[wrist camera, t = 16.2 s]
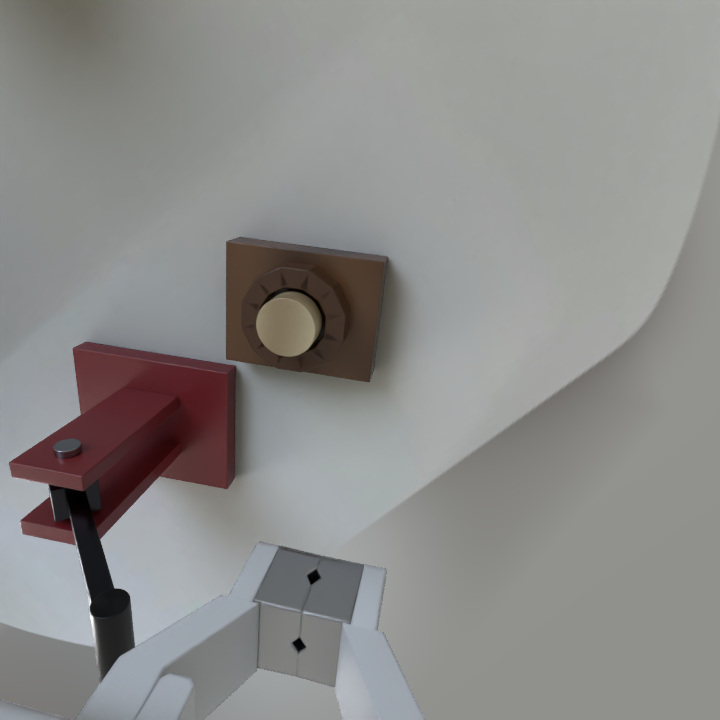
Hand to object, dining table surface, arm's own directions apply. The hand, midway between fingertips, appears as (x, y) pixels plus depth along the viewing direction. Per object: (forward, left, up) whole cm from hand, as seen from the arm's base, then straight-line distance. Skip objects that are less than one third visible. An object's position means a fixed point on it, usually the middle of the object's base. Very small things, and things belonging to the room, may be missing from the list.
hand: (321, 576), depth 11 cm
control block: (+6, +3, -23) cm, 24 cm away
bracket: (+12, +17, -23) cm, 31 cm away
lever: (+7, +15, -10) cm, 19 cm away
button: (+6, +3, -19) cm, 20 cm away
